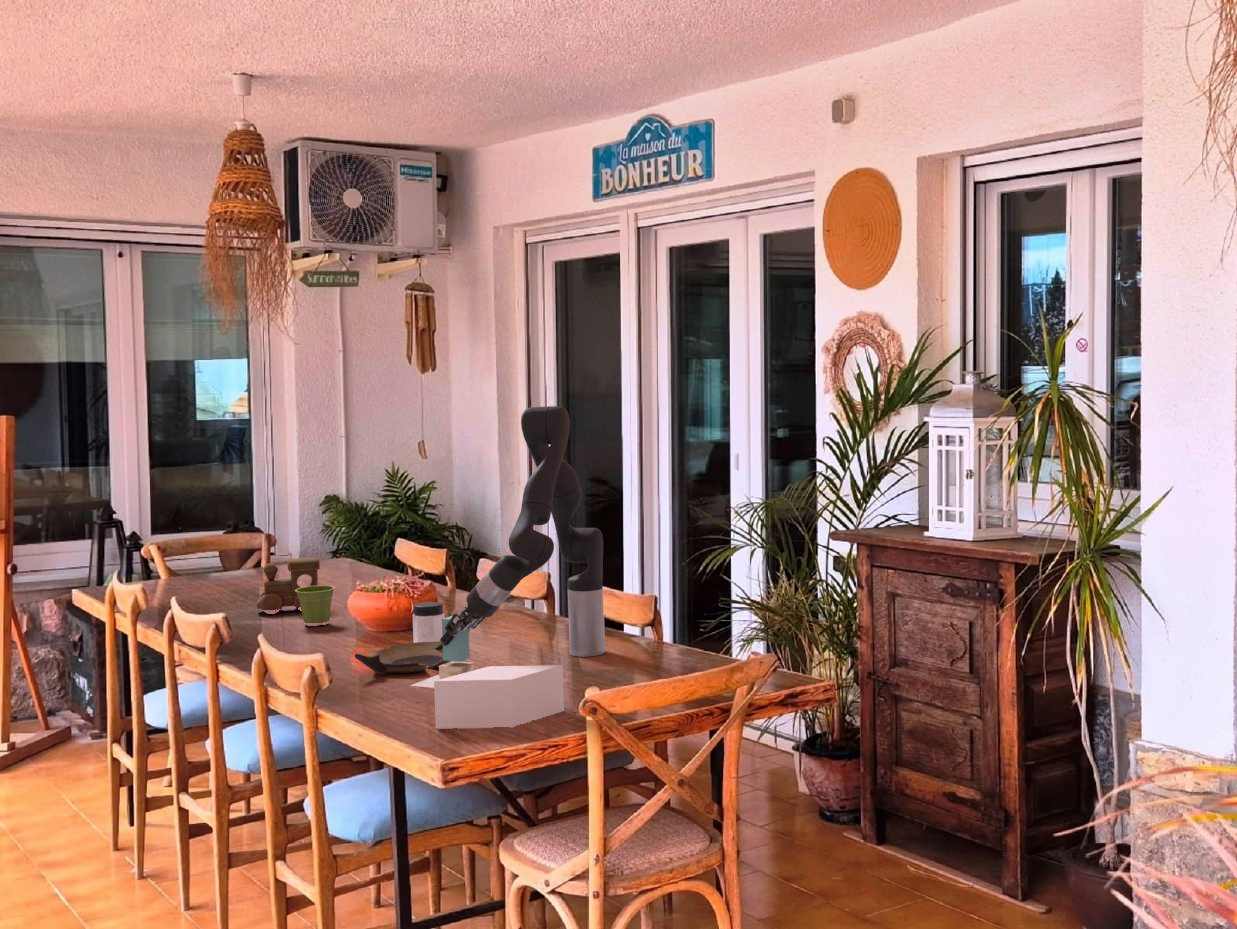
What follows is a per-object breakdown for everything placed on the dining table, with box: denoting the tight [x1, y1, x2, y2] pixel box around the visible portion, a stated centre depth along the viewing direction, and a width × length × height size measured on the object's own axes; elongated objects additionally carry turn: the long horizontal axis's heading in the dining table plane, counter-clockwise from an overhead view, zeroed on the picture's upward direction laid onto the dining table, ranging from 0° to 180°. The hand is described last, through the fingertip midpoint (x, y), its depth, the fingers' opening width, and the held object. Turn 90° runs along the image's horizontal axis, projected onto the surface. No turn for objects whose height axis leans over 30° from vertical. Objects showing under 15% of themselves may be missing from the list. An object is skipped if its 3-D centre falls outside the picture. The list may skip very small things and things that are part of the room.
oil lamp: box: [354, 641, 449, 675], centre depth 331 cm, size 22×30×8 cm
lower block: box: [438, 661, 475, 680], centre depth 314 cm, size 6×6×4 cm
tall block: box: [442, 615, 471, 662], centre depth 314 cm, size 4×4×10 cm
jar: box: [412, 601, 446, 643], centre depth 360 cm, size 9×8×12 cm
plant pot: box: [295, 585, 336, 623], centre depth 398 cm, size 12×12×11 cm
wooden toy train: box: [256, 557, 321, 611], centre depth 425 cm, size 20×11×17 cm, turn 107°
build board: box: [409, 674, 439, 689], centre depth 314 cm, size 16×16×1 cm
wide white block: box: [433, 664, 565, 730], centre depth 281 cm, size 14×29×10 cm, turn 115°
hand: (449, 640), depth 315 cm, fingers closed on tall block, 4 cm apart
